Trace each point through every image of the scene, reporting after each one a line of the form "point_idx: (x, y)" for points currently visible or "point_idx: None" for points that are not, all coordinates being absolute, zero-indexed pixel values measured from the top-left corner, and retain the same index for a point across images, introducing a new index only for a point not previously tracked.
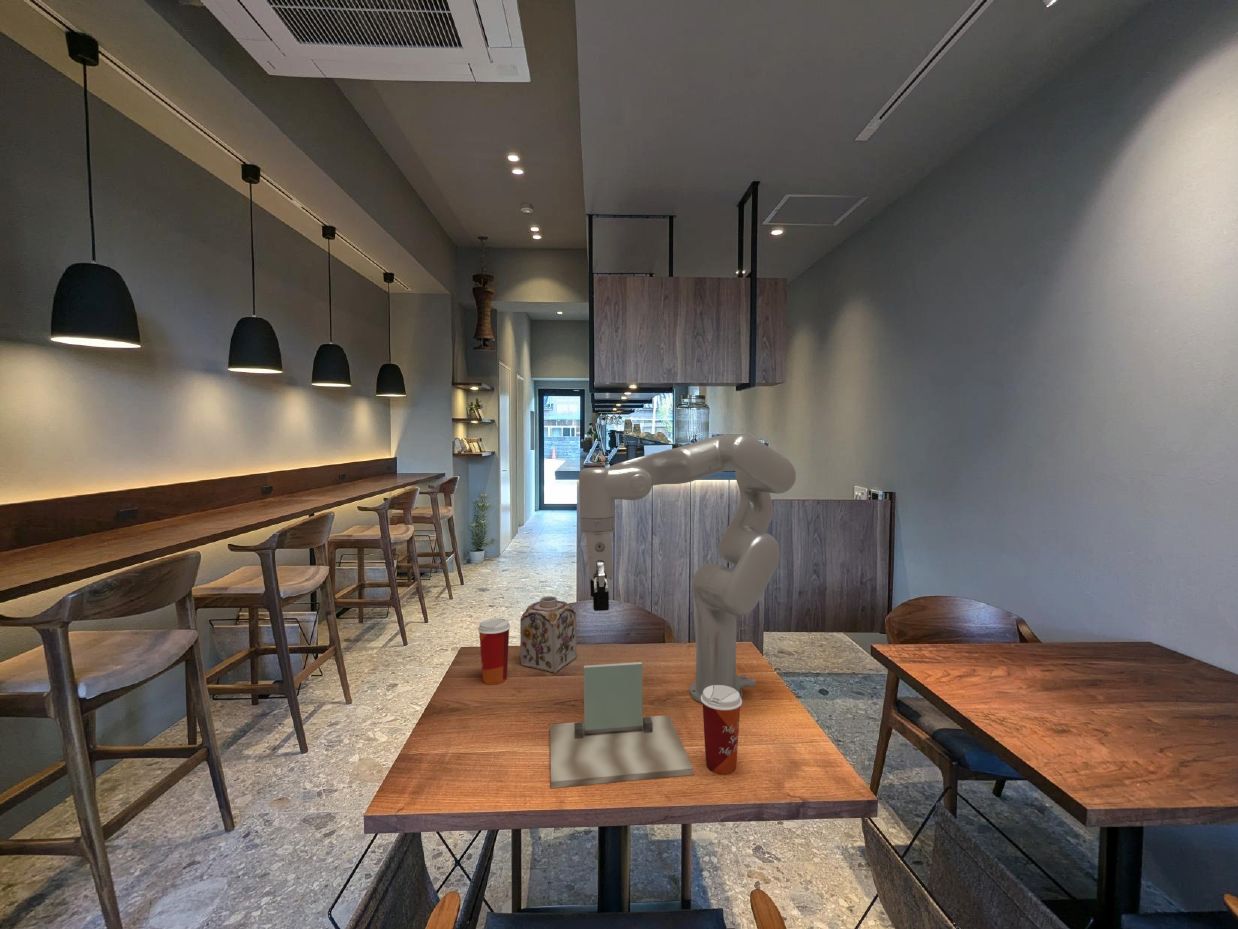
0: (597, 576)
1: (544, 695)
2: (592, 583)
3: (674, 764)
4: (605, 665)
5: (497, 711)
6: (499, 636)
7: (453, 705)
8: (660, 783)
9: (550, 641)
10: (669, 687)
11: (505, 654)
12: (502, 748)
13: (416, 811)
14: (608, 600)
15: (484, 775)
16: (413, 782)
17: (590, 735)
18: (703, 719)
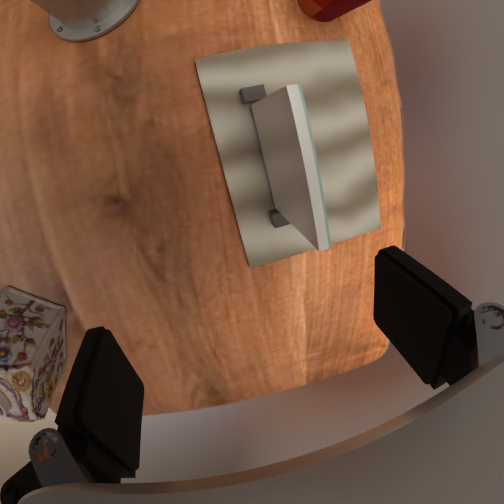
0: (102, 473)
1: (140, 304)
2: (135, 448)
3: (344, 62)
4: (316, 192)
5: (206, 350)
6: None
7: (202, 396)
8: (364, 87)
9: (45, 350)
10: (67, 80)
11: None
12: (298, 310)
13: None
14: (428, 270)
15: (349, 305)
16: (352, 358)
17: None
18: (354, 1)
